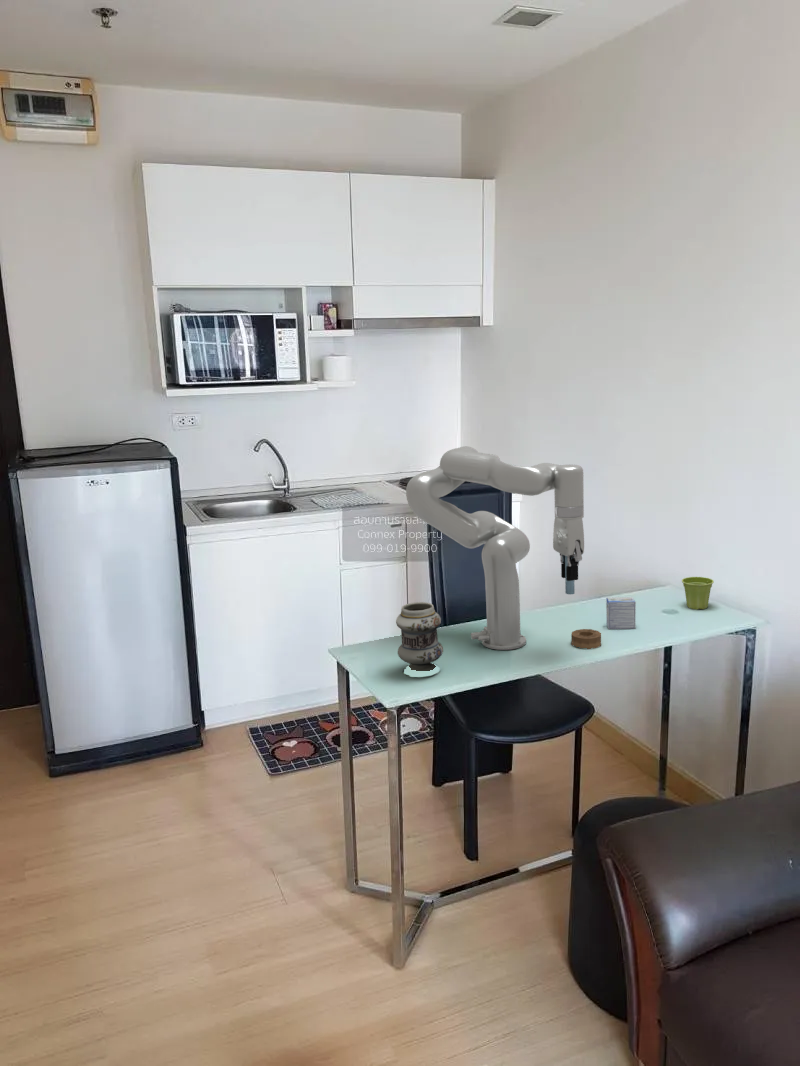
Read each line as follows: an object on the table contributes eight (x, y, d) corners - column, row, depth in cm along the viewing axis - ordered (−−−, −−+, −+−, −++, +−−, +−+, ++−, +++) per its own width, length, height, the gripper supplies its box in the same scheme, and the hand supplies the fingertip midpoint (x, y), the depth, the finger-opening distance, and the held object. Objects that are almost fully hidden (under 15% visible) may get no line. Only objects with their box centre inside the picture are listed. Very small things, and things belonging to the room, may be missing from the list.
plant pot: (703, 613, 249) (704, 586, 248) (675, 607, 256) (676, 581, 254) (718, 606, 255) (719, 579, 254) (690, 601, 262) (691, 575, 261)
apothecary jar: (418, 659, 223) (414, 597, 220) (453, 668, 216) (450, 603, 212) (389, 673, 214) (385, 608, 211) (424, 683, 207) (421, 615, 203)
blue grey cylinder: (567, 594, 218) (567, 551, 215) (563, 592, 220) (563, 549, 218) (576, 593, 218) (576, 550, 216) (572, 591, 221) (571, 548, 218)
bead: (579, 650, 224) (579, 640, 223) (566, 641, 231) (566, 631, 231) (606, 646, 226) (606, 636, 225) (592, 637, 233) (592, 627, 233)
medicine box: (633, 624, 243) (633, 596, 241) (635, 629, 239) (635, 600, 237) (606, 624, 244) (606, 597, 242) (608, 629, 239) (608, 601, 238)
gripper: (543, 508, 222) (544, 573, 225) (569, 518, 206) (569, 587, 210) (568, 505, 223) (569, 570, 227) (596, 515, 208) (596, 584, 212)
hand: (569, 578), depth 218 cm, fingers closed on blue grey cylinder, 2 cm apart
